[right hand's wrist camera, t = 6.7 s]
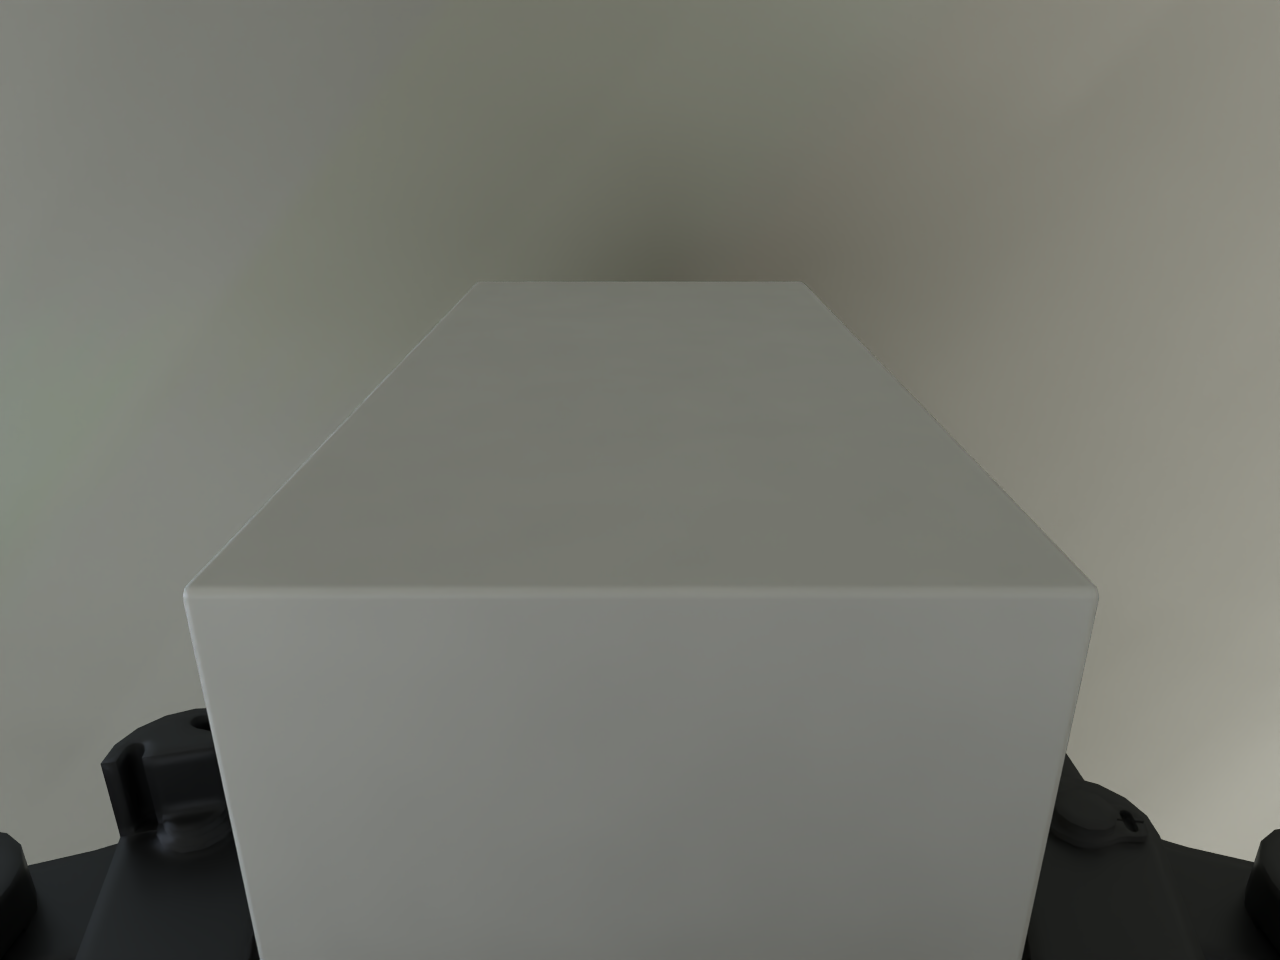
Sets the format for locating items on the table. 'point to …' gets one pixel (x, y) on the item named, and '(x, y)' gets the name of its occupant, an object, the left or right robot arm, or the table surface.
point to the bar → (640, 651)
